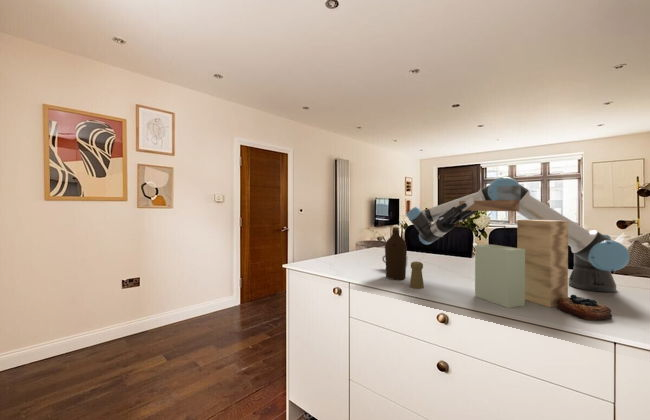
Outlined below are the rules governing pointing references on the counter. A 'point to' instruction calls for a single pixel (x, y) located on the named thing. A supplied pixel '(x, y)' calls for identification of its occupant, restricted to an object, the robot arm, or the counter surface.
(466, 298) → the counter surface
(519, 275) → the sage green upright block
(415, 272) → the cork
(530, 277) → the oak stand
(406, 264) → the teacup
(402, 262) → the olive oil
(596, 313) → the pastry
